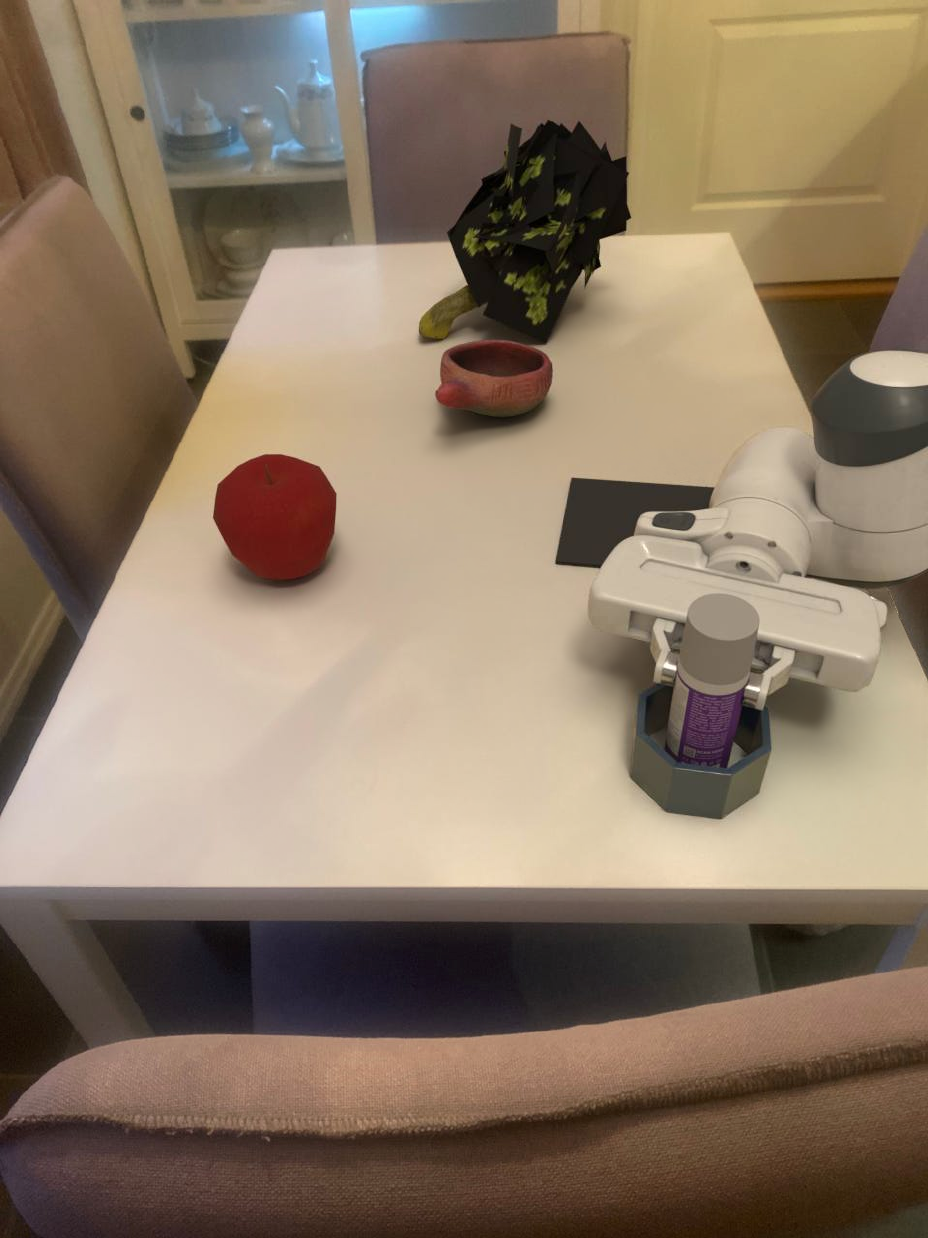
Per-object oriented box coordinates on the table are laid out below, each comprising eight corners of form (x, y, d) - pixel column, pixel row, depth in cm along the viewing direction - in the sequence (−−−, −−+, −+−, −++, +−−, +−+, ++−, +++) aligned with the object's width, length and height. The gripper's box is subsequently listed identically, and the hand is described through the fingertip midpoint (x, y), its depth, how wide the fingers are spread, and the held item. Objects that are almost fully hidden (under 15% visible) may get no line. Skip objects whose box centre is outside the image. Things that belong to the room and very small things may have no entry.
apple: (225, 610, 83) (194, 505, 75) (237, 538, 91) (210, 437, 83) (346, 599, 84) (327, 493, 76) (347, 529, 91) (331, 427, 84)
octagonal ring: (755, 725, 70) (767, 680, 67) (760, 824, 64) (773, 780, 60) (635, 711, 72) (640, 667, 69) (627, 807, 65) (633, 763, 62)
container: (739, 762, 68) (776, 613, 58) (703, 801, 66) (736, 653, 55) (685, 730, 70) (711, 582, 60) (649, 766, 68) (671, 618, 58)
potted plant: (459, 383, 115) (587, 153, 98) (371, 280, 125) (473, 53, 107) (566, 391, 130) (693, 193, 113) (480, 299, 140) (585, 103, 122)
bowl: (448, 382, 113) (444, 320, 107) (552, 382, 112) (554, 319, 106) (434, 453, 101) (429, 388, 96) (551, 454, 100) (552, 388, 94)
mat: (789, 495, 92) (790, 492, 92) (799, 585, 82) (800, 581, 82) (571, 480, 96) (571, 477, 96) (555, 564, 86) (555, 560, 86)
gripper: (878, 628, 69) (859, 763, 60) (616, 569, 76) (563, 683, 67) (901, 563, 65) (885, 698, 56) (622, 507, 72) (565, 619, 62)
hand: (707, 689), depth 61 cm, fingers closed on container, 4 cm apart
